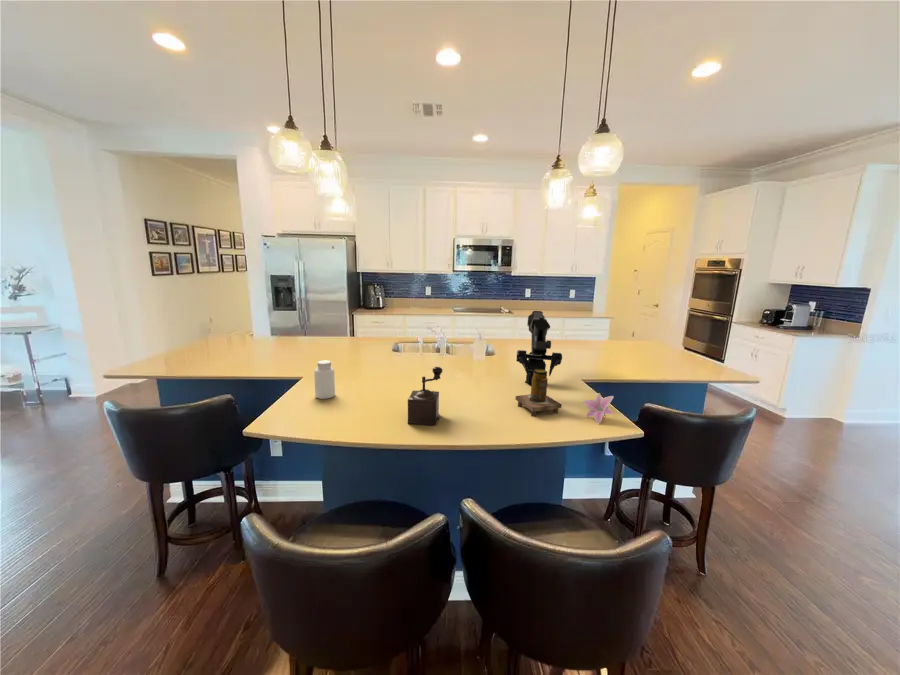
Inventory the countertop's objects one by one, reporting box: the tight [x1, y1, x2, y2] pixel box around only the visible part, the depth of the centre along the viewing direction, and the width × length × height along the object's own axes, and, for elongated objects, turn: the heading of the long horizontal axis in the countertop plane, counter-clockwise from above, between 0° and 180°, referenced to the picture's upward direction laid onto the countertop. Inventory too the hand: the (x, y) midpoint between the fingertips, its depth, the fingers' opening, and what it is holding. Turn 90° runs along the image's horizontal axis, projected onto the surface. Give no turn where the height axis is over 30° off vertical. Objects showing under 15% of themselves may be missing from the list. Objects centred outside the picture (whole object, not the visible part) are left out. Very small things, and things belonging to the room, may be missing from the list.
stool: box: [514, 393, 563, 418], centre depth 149 cm, size 13×13×4 cm
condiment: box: [526, 369, 549, 404], centre depth 147 cm, size 7×8×12 cm
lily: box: [583, 392, 615, 424], centre depth 141 cm, size 12×12×10 cm
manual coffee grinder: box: [407, 366, 443, 427], centre depth 138 cm, size 16×11×18 cm
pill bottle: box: [313, 359, 336, 400], centre depth 156 cm, size 8×8×15 cm
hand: (538, 374), depth 154 cm, fingers open, 9 cm apart
